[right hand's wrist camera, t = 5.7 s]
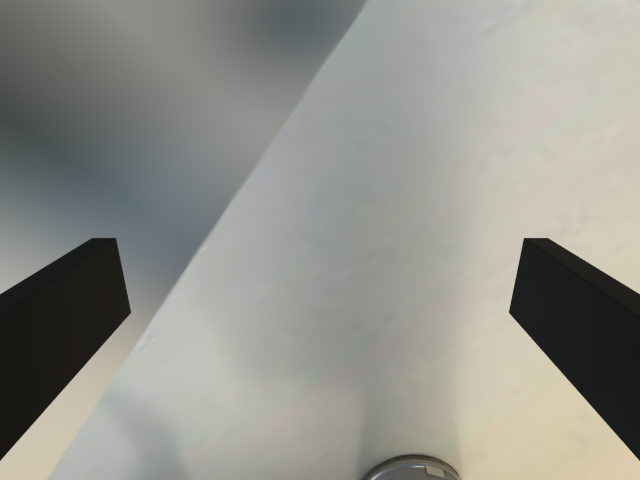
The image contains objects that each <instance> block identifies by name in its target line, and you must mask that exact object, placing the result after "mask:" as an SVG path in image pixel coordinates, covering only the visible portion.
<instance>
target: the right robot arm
mask: <svg viewBox="0 0 640 480" xmlns="http://www.w3.org/2000/svg"><path fill="white" fill-rule="evenodd" d="M130 313H131V310H130V305H129V300H128V295H127V290H126V285H125V281H124V276H123V271H122V266H121V261H120V256H119V251H118V246H117V241H116V238H92V239H90V240H88V241H87V242H85V243H83V244H82V245H80V246H78V247H77V248H75V249H74V250H72V251H70V252H69V253H67V254H65V255H64V256H62V257H61V258H59V259H57V260H56V261H54V262H52V263H51V264H49V265H47V266H46V267H44V268H43V269H41V270H39V271H38V272H36V273H34V274H33V275H31V276H30V277H28V278H26V279H25V280H23V281H21V282H20V283H18V284H16V285H15V286H13V287H11V288H10V289H8V290H7V291H5V292H3V293H2V294H0V460H1V459H2V458H3V457H4V456H5V455H6V454H7V452H8V451H9V450H10V449H11V448H12V447H13V446H14V445H15V443H16V442H17V441H18V440H19V439H20V438H21V437H22V435H23V434H24V433H25V432H26V431H27V430H28V429H29V428H30V426H31V425H32V424H33V423H34V422H35V421H36V420H37V419H38V417H39V416H40V415H41V414H42V413H43V412H44V411H45V409H46V408H47V407H48V406H49V405H50V404H51V403H52V401H53V400H54V399H55V398H56V397H57V396H58V395H59V394H60V392H61V391H62V390H63V389H64V388H65V387H66V386H67V385H68V383H69V382H70V381H71V380H72V379H73V378H74V377H75V376H76V374H77V373H78V372H79V371H80V370H81V369H82V368H83V366H84V365H85V364H86V363H87V362H88V361H89V360H90V358H91V357H92V356H93V355H94V354H95V353H96V352H97V351H98V349H99V348H100V347H101V346H102V345H103V344H104V343H105V342H106V340H107V339H108V338H109V337H110V336H111V335H112V334H113V332H114V331H115V330H116V329H117V328H118V327H119V326H120V325H121V323H122V322H123V321H124V320H125V319H126V318H127V317H128V316H129V314H130ZM509 313H510V314H511V316H512V317H513V318H514V319H515V320H516V321H517V322H518V323H519V325H520V326H521V327H522V328H523V329H524V330H525V331H526V332H527V334H528V335H529V336H530V337H531V338H532V339H533V340H534V342H535V343H536V344H537V345H538V346H539V347H540V348H541V349H542V351H543V352H544V353H545V354H546V355H547V356H548V357H549V359H550V360H551V361H552V362H553V363H554V364H555V365H556V366H557V368H558V369H559V370H560V371H561V372H562V373H563V374H564V376H565V377H566V378H567V379H568V380H569V381H570V382H571V383H572V385H573V386H574V387H575V388H576V389H577V390H578V391H579V392H580V394H581V395H582V396H583V397H584V398H585V399H586V400H587V402H588V403H589V404H590V405H591V406H592V407H593V408H594V409H595V411H596V412H597V413H598V414H599V415H600V416H601V417H602V419H603V420H604V421H605V422H606V423H607V424H608V425H609V426H610V428H611V429H612V430H613V431H614V432H615V433H616V434H617V435H618V437H619V438H620V439H621V440H622V441H623V442H624V443H625V445H626V446H627V447H628V448H629V449H630V450H631V451H632V452H633V454H634V455H635V456H636V457H637V458H638V459H639V460H640V294H638V293H637V292H635V291H633V290H632V289H630V288H629V287H627V286H625V285H624V284H622V283H620V282H619V281H617V280H615V279H614V278H612V277H611V276H609V275H607V274H606V273H604V272H602V271H601V270H599V269H597V268H596V267H594V266H593V265H591V264H589V263H588V262H586V261H584V260H583V259H581V258H579V257H578V256H576V255H575V254H573V253H571V252H570V251H568V250H566V249H565V248H563V247H562V246H560V245H558V244H557V243H555V242H553V241H552V240H550V239H548V238H524V241H523V246H522V251H521V256H520V261H519V266H518V271H517V275H516V280H515V285H514V290H513V295H512V300H511V305H510V310H509ZM363 480H460V478H459V476H458V474H457V473H456V472H455V470H454V469H452V468H451V467H450V466H449V465H447V464H446V463H444V462H442V461H440V460H437V459H434V458H430V457H425V456H404V457H399V458H395V459H392V460H389V461H386V462H384V463H382V464H380V465H378V466H377V467H375V468H374V469H373V470H371V471H370V472H369V473H368V474H367V475H366V477H365V478H364V479H363Z"/></svg>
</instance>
